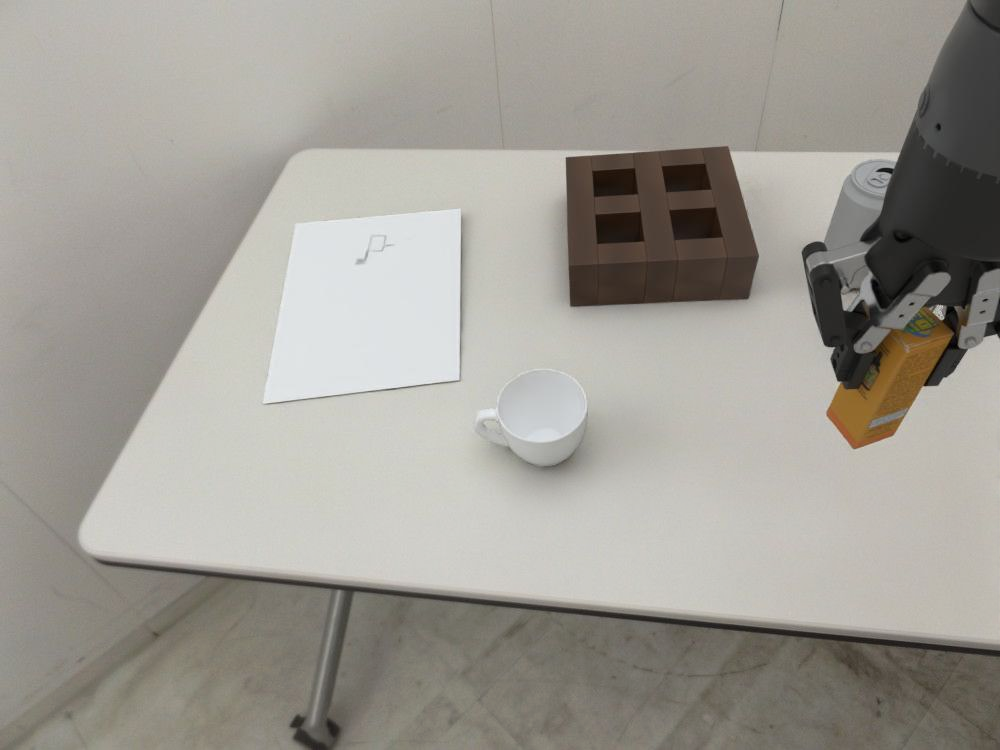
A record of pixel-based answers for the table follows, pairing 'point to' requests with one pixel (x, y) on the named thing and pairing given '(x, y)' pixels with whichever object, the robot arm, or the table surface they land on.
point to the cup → (538, 416)
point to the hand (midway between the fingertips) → (885, 375)
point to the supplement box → (890, 381)
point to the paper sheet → (368, 306)
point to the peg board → (657, 228)
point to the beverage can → (859, 206)
